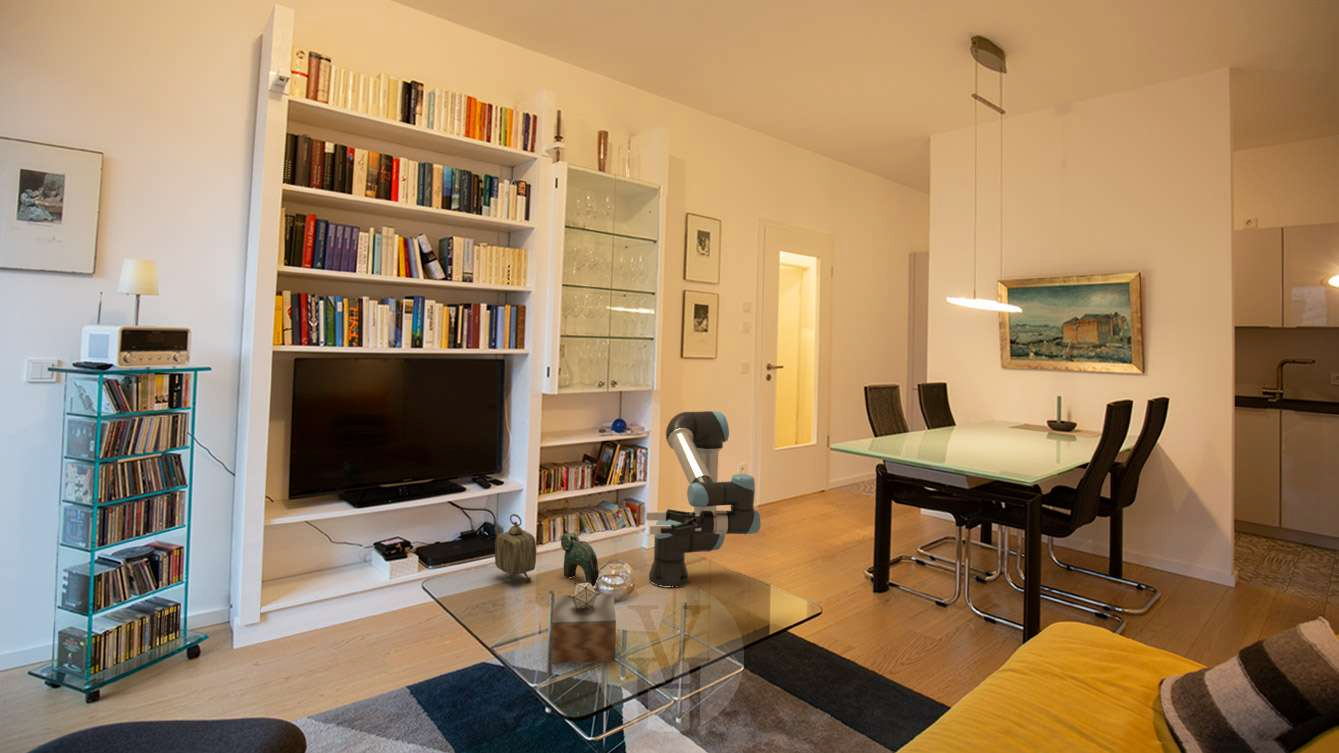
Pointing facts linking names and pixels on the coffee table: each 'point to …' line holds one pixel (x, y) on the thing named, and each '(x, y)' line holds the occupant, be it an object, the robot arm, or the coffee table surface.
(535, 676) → the coffee table surface
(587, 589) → the geometric polyhedron ornament
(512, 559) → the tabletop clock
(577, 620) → the walnut crate
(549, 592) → the coffee table surface
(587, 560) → the green elephant figurine
